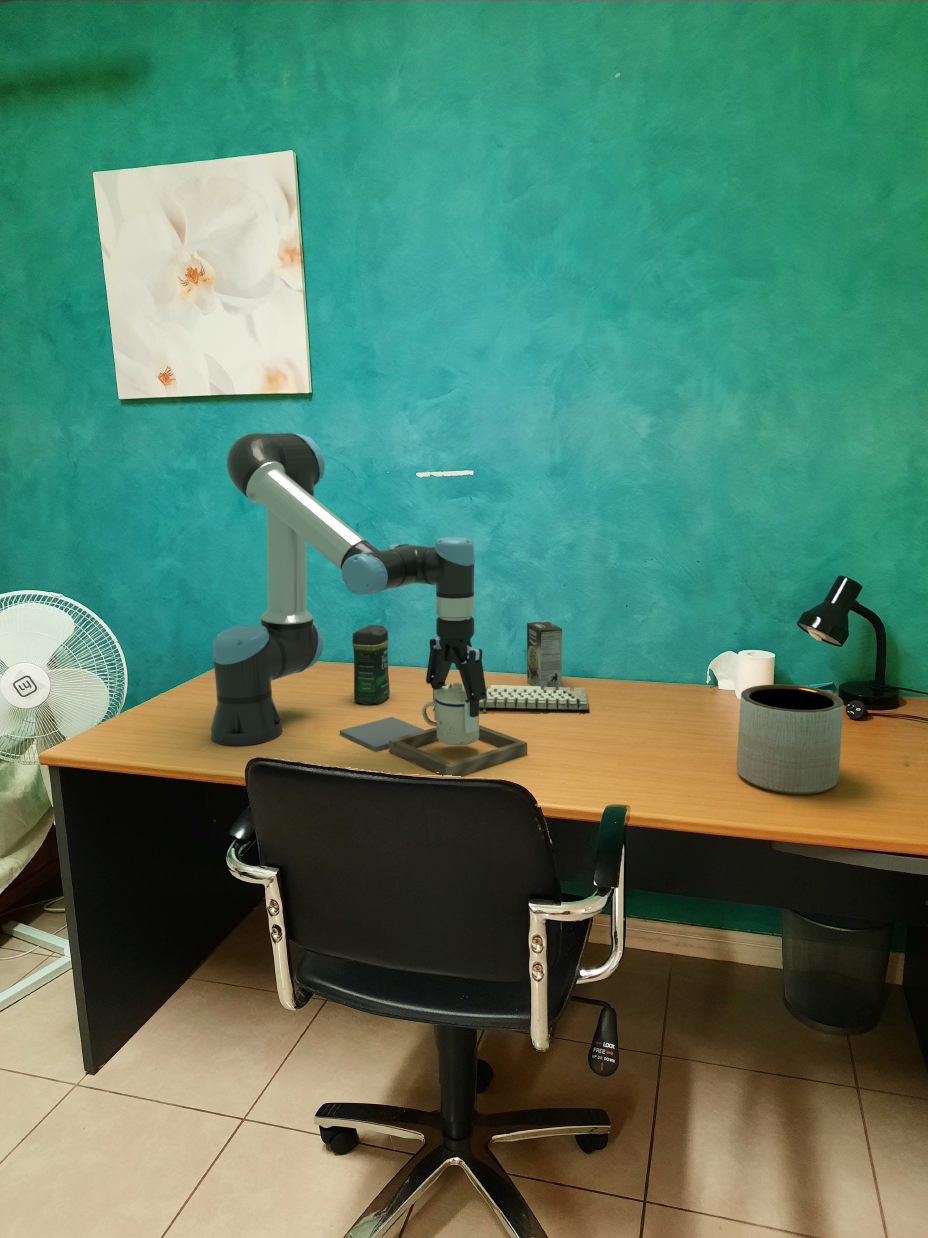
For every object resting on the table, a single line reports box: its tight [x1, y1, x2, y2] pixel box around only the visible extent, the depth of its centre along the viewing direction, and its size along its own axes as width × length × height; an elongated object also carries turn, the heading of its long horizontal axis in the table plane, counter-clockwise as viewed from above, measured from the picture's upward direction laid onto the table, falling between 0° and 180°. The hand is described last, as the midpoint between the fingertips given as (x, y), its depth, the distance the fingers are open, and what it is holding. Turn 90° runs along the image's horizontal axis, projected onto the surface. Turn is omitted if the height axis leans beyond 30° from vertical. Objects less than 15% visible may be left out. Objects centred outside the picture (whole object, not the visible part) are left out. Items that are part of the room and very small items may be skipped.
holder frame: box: [388, 724, 528, 777], centre depth 171 cm, size 20×20×2 cm
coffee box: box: [526, 621, 563, 690], centre depth 217 cm, size 9×6×16 cm
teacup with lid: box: [421, 682, 480, 746], centre depth 171 cm, size 12×9×12 cm
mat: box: [339, 716, 425, 752], centre depth 182 cm, size 14×14×1 cm
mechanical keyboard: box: [432, 681, 591, 716], centre depth 205 cm, size 38×19×3 cm, turn 85°
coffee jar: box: [351, 624, 391, 705], centre depth 207 cm, size 10×8×19 cm
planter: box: [735, 684, 844, 795], centre depth 155 cm, size 18×18×16 cm
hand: (455, 725), depth 170 cm, fingers closed on teacup with lid, 9 cm apart
